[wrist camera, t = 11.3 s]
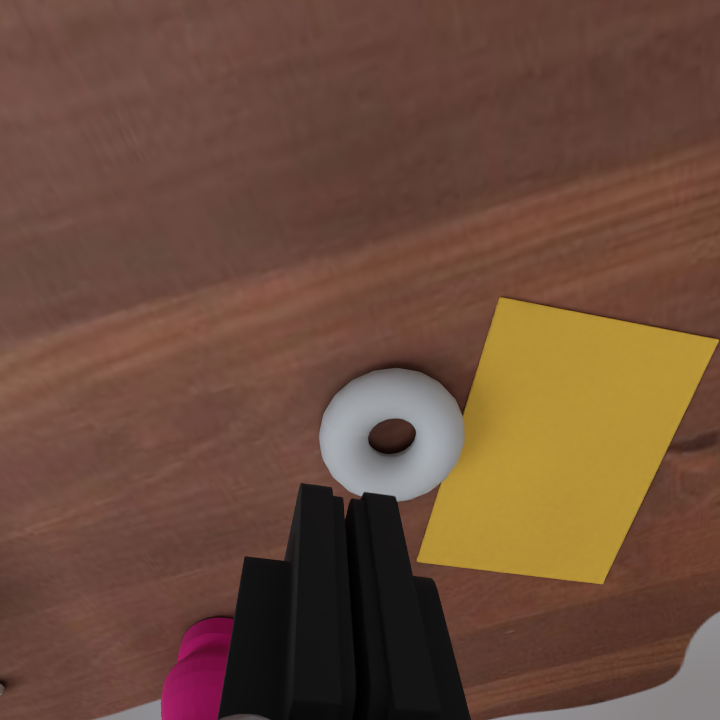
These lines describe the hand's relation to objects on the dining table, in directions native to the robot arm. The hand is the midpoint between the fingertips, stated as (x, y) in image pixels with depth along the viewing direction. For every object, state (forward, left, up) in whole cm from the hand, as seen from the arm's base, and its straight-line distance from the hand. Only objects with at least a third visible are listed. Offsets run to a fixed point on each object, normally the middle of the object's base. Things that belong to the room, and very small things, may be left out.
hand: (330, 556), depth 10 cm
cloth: (+12, +20, -27) cm, 36 cm away
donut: (+12, +7, -28) cm, 31 cm away
